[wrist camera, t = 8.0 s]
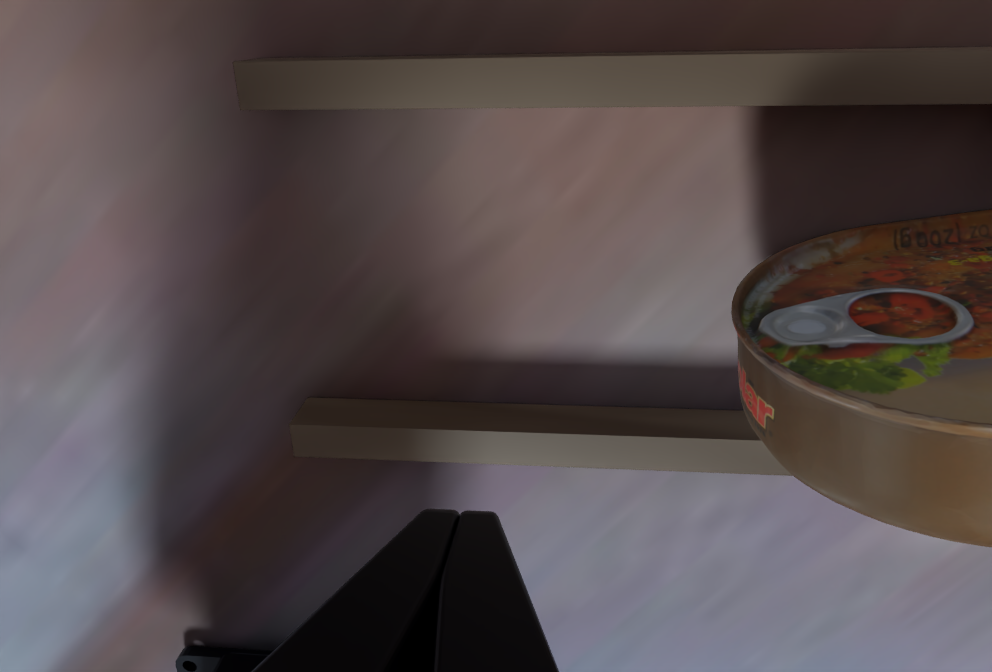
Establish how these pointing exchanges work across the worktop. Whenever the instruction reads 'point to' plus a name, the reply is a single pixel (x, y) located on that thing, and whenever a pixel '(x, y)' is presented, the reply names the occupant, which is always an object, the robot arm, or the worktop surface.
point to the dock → (584, 83)
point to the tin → (879, 369)
